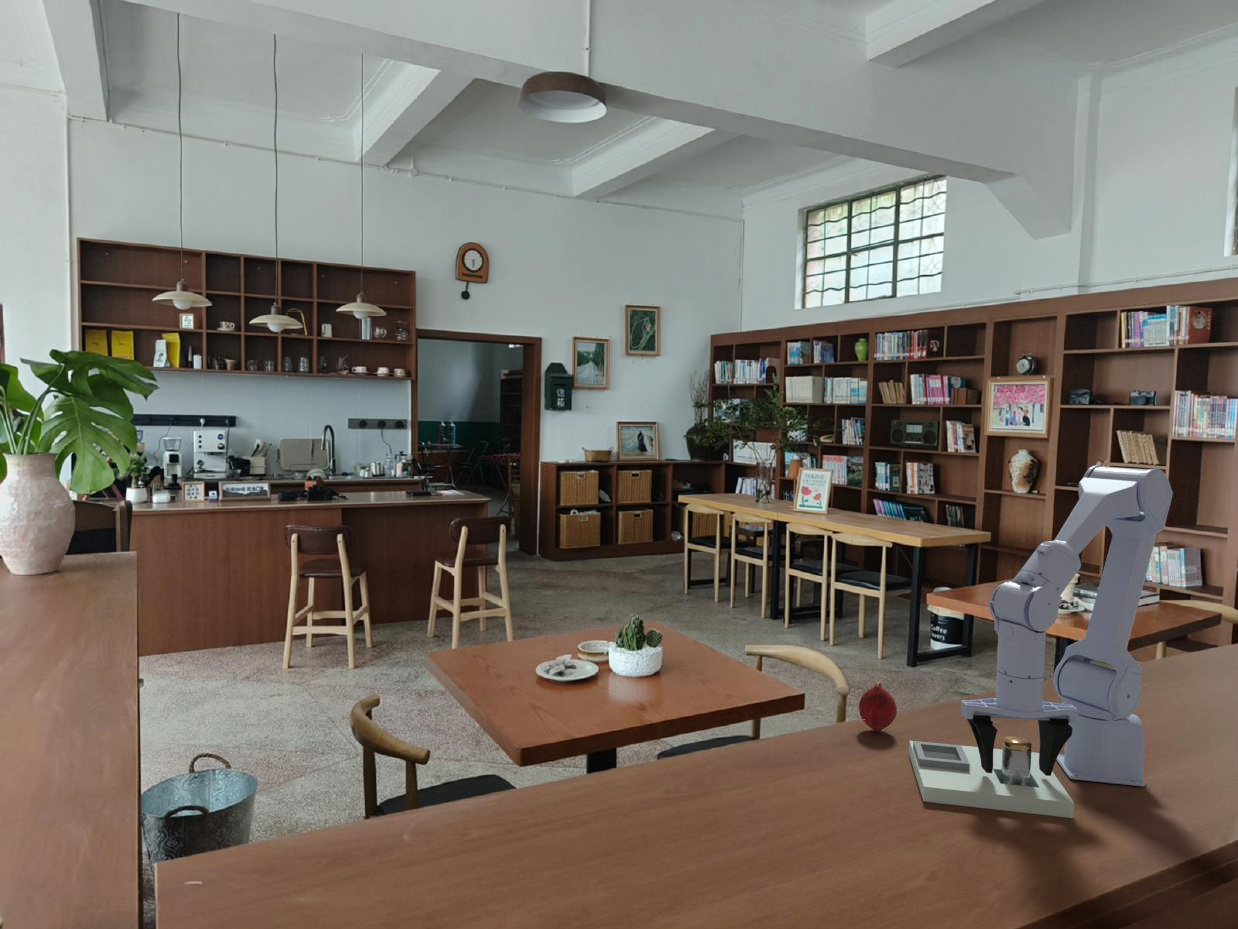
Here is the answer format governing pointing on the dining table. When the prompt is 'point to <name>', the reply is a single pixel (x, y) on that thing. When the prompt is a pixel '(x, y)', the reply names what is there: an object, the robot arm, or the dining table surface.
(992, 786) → the board
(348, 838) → the dining table surface
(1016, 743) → the silver and gold cylinder
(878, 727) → the onion
